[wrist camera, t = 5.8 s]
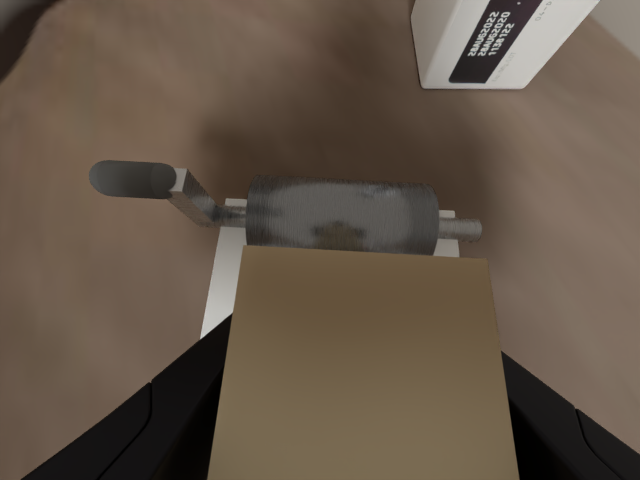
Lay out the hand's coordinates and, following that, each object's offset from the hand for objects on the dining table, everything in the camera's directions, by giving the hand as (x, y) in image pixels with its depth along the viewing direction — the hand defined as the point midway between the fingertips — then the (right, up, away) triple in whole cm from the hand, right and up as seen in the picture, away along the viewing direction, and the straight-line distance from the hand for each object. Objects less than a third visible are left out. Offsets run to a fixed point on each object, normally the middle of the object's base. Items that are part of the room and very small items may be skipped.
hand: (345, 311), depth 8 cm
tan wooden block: (0, -3, +6) cm, 7 cm away
